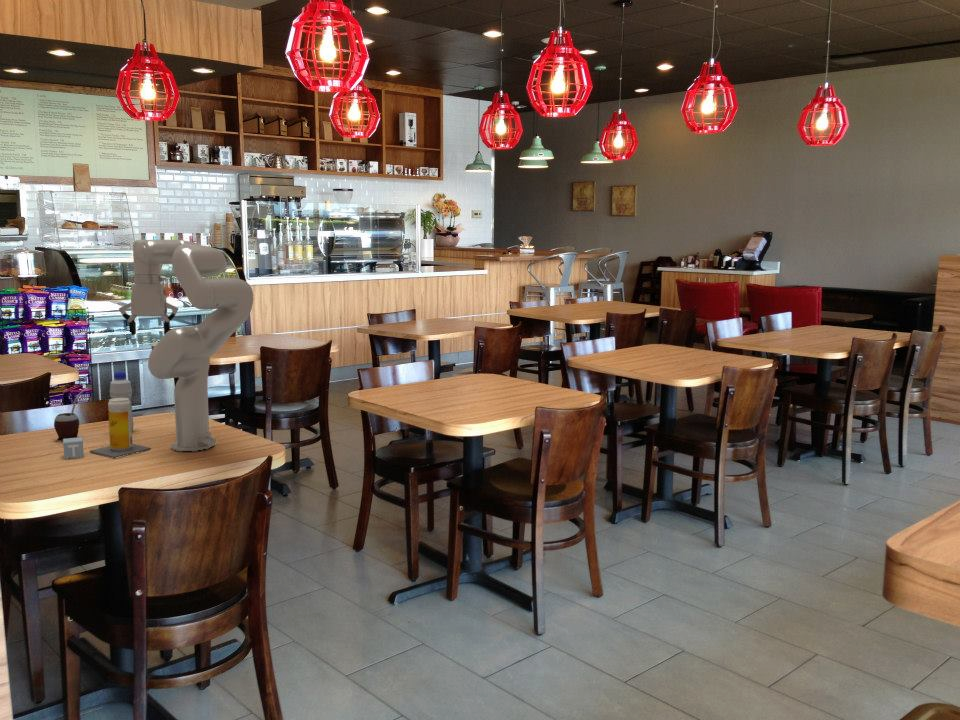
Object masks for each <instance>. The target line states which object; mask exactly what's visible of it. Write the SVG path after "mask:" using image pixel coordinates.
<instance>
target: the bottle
mask: <svg viewBox="0 0 960 720" xmlns="http://www.w3.org/2000/svg"><path fill="white" fill-rule="evenodd" d="M126 377H127V375H126V373H125V371H117V372H115V373H114V379H113V380H112V381H111V382H110V383H109V384H110V385H109V395H110V396H109V397H110V399H113V398H128V399H129V401H130V402H131V423H132V431H133V430H134V416H133V405H132V396H133V388H132V383H131V381H130V380H128V379H127V378H126Z"/></svg>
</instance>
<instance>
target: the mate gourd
mask: <svg viewBox="0 0 960 720" xmlns="http://www.w3.org/2000/svg"><path fill="white" fill-rule="evenodd" d="M83 392H84V390H81V391H80V392H79V393H78V394H77V395H76V396H75V398H74V400H73V406H72V409H71V412H65V413H59V414H57V415H56V416H55V418H54V422H53V427H54V430H55V432H56V434H57V440H58V441H59V440H60V441H61V443H63V439H68V438H78V436H79V435H78V434H79V429H80V419H79V417H78V415H77V414H76V413H74V411H75V408H76V404H77V401H78V398H79V397H80V395H82V393H83Z"/></svg>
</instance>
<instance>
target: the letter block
mask: <svg viewBox="0 0 960 720" xmlns="http://www.w3.org/2000/svg"><path fill="white" fill-rule="evenodd" d="M62 445H63V459H65V460H68V459H67V458H75V459H78V458H77V457H84V458H85V455H84V442H83V437H81V436H79V437H78V436H77V438H68V439H63V442H62Z"/></svg>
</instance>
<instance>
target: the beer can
mask: <svg viewBox="0 0 960 720" xmlns="http://www.w3.org/2000/svg"><path fill="white" fill-rule="evenodd" d="M107 410H108V426H109V427H108V428H109V429H108V431H109V446H110V448H112V450H114V451H125V450H129V449H130V448H131V447H132V444H133V433H132V432H133V430H132V423H131V402H130V401H129V399H128V398H113V399H111V398H110V399H109V401H108V403H107Z"/></svg>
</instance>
